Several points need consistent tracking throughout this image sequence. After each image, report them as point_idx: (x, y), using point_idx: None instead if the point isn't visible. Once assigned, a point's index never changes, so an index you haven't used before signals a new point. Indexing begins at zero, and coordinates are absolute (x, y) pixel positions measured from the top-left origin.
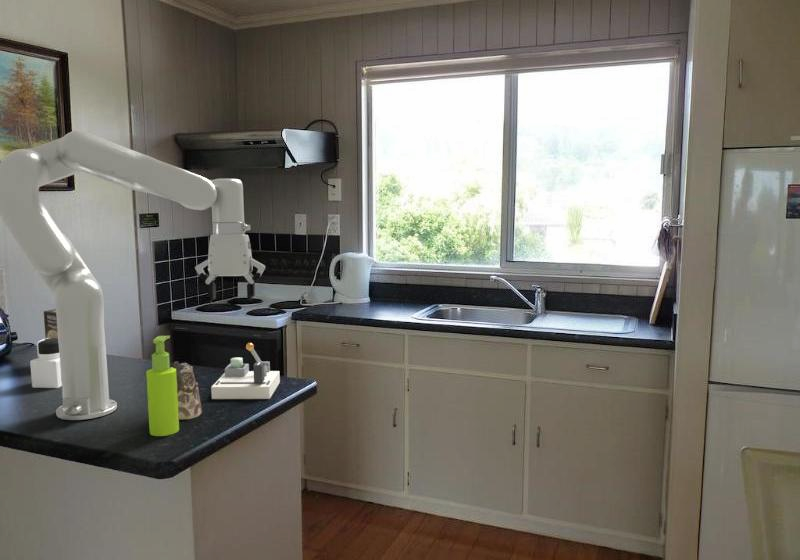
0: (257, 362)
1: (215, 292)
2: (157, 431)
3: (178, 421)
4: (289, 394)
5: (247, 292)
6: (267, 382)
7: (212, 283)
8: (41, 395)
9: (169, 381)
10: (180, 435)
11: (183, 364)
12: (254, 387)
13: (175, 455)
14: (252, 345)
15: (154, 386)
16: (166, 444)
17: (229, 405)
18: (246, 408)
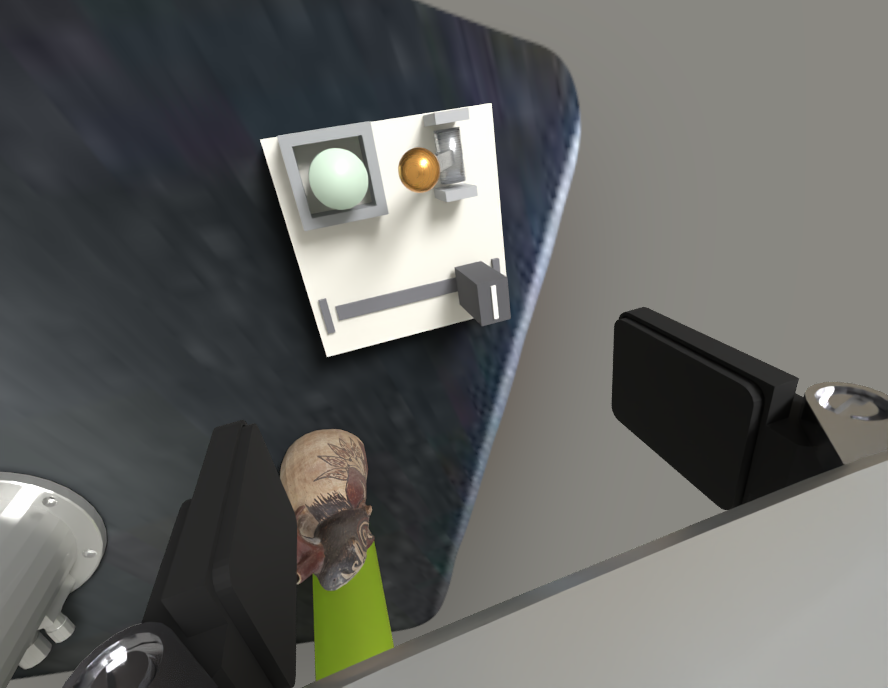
0: (483, 284)
1: (251, 476)
2: None
3: (375, 550)
4: (537, 244)
5: (663, 456)
6: None
7: (261, 682)
8: None
9: None
10: (390, 549)
11: (343, 584)
12: (465, 320)
13: (429, 603)
14: (438, 178)
15: None
16: (388, 583)
17: (405, 374)
18: (458, 381)
